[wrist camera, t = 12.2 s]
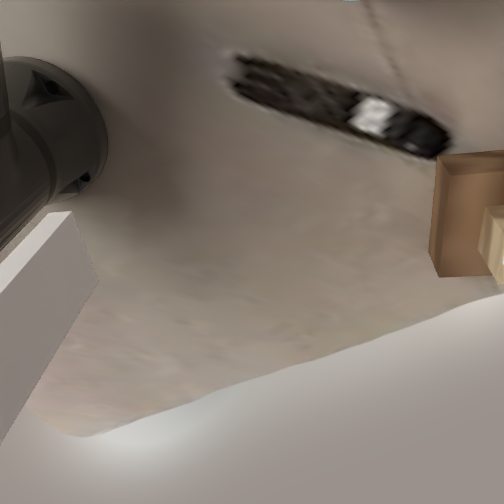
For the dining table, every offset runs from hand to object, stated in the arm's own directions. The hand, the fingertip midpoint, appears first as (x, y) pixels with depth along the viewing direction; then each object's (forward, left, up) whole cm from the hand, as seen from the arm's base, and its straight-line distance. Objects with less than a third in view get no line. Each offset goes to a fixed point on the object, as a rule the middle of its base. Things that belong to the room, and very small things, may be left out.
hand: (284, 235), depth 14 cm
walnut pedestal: (+20, -18, -34) cm, 43 cm away
